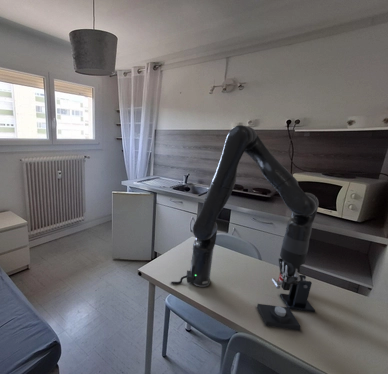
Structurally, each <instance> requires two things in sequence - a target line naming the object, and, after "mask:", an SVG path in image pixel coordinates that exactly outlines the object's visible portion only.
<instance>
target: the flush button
mask: <svg viewBox="0 0 388 374" xmlns="http://www.w3.org/2000/svg"><path fill="white" fill-rule="evenodd" d="M275 306H276V307H275V313H276V314H277V315H279V316H281V317H284V316H285V315H286V310H285V309H284V308H283V307H284V306H281V307H280V305H275Z"/></svg>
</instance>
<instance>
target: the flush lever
mask: <svg viewBox="0 0 388 374" xmlns="http://www.w3.org/2000/svg"><path fill="white" fill-rule="evenodd" d="M303 281H307V279H304V278H303ZM271 282H272V283H273V285H274V286H275V288H276V289H278V290H279V289H281V286H282V281H278V280H276V278H274V277H272V278H271ZM297 284H298V283H297Z"/></svg>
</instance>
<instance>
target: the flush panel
mask: <svg viewBox="0 0 388 374" xmlns="http://www.w3.org/2000/svg"><path fill="white" fill-rule="evenodd" d="M276 306H277V305H271V304H263V303H257V307H256V309H257V311H258V313H259V315H260V318H261V319H262V323H264V326H265V327H269V328H270V327H271V328H278V329H285V330H292V331H300V330H301V328H302V327H301V326H302V325H301V324H300V323H299V320H297V318H296V316H295V314H293V312H292V310H291V309H289V308H288V307H287V306H280V305H279V306H280V307H283V308H284V309H285V310H286V315H285V316H284V317H281V316H279V315H277V314H276V313H275V307H276Z"/></svg>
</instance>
